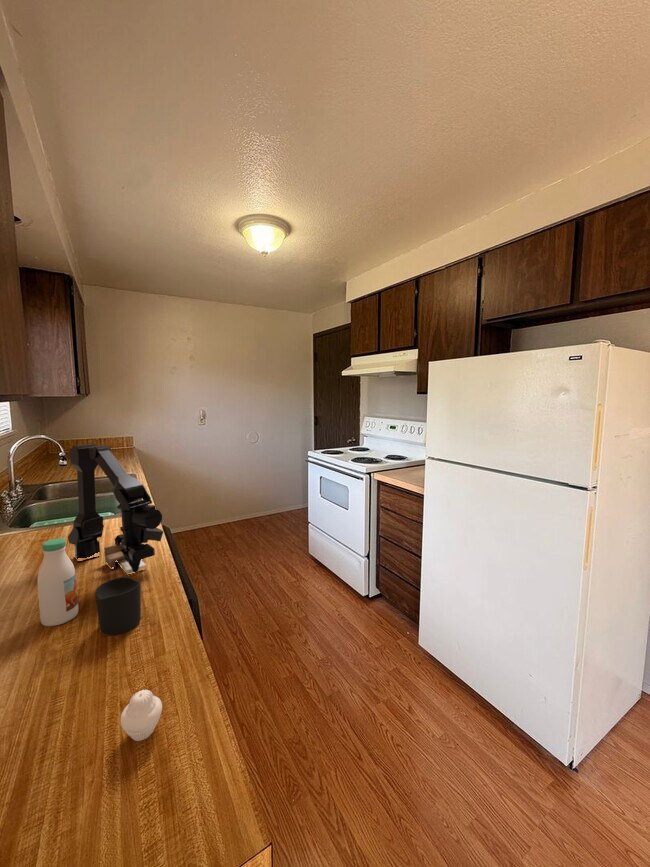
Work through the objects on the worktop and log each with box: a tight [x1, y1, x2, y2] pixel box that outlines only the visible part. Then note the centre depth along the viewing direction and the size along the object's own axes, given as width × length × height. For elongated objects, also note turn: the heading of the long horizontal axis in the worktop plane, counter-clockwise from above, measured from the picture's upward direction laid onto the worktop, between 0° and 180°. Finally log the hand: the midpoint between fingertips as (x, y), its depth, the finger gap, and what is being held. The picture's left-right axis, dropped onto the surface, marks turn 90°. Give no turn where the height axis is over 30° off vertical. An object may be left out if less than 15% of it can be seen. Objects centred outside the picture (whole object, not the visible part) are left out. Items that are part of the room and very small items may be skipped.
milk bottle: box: [37, 537, 79, 627], centre depth 90 cm, size 8×8×20 cm
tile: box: [117, 558, 147, 574], centre depth 118 cm, size 6×12×2 cm, turn 44°
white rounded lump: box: [120, 689, 163, 742], centre depth 59 cm, size 6×6×7 cm
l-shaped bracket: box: [103, 543, 125, 568], centre depth 121 cm, size 10×6×6 cm, turn 135°
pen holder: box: [94, 576, 142, 636], centre depth 87 cm, size 9×9×10 cm
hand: (135, 571), depth 113 cm, fingers closed
